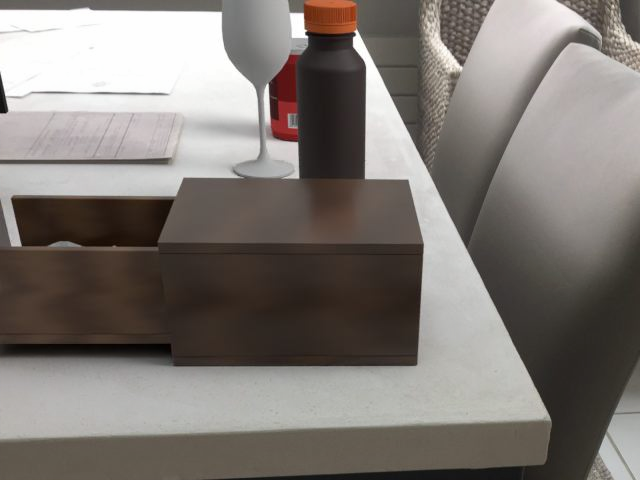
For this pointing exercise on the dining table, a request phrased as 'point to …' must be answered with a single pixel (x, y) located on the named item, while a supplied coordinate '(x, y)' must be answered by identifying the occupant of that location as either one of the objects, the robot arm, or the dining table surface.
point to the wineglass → (258, 63)
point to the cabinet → (292, 272)
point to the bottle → (331, 94)
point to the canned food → (286, 95)
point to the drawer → (84, 271)
